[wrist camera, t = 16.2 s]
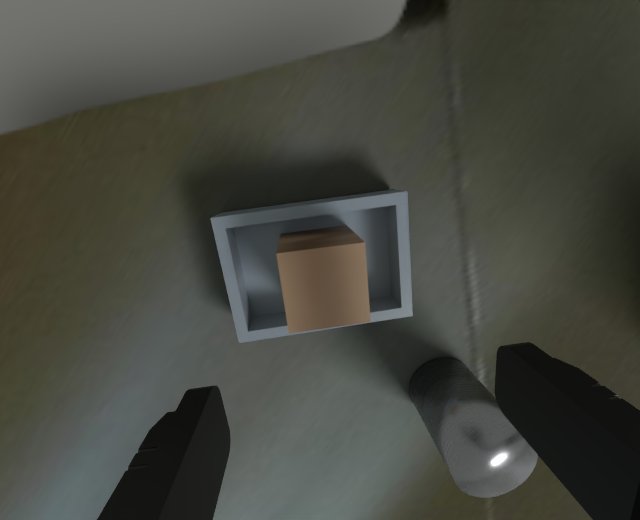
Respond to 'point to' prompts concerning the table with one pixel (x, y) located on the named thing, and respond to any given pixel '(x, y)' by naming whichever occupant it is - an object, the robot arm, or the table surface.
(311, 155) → the table surface
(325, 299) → the walnut block
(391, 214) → the slate tray
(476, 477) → the grey can
